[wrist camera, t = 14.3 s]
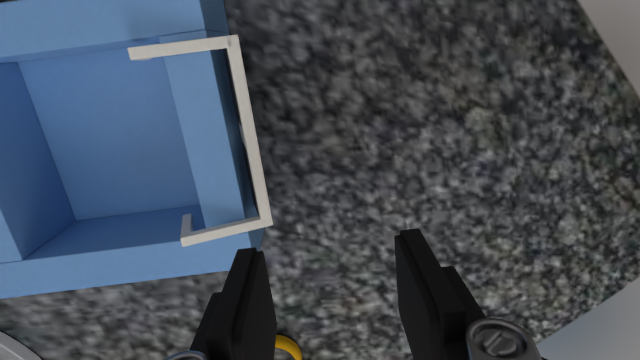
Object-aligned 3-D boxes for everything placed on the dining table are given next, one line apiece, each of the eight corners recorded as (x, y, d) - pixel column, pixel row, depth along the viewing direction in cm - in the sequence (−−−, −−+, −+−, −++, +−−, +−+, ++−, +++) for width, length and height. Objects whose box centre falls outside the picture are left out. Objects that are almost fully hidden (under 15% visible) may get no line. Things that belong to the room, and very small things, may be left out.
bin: (-30, 27, 30) (-135, 21, 23) (221, -8, 30) (194, -25, 23) (59, 250, 37) (-1, 299, 29) (266, 224, 36) (255, 267, 29)
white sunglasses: (232, 38, 28) (238, 34, 24) (264, 204, 32) (273, 225, 28) (138, 49, 26) (126, 47, 22) (184, 222, 30) (182, 247, 26)
